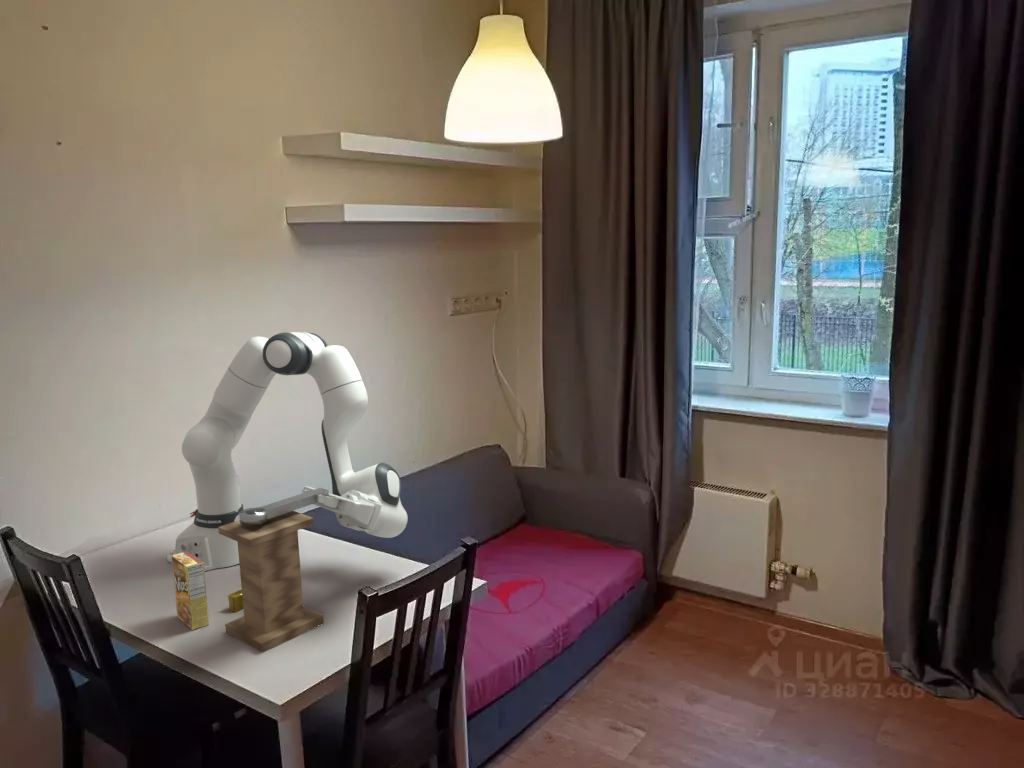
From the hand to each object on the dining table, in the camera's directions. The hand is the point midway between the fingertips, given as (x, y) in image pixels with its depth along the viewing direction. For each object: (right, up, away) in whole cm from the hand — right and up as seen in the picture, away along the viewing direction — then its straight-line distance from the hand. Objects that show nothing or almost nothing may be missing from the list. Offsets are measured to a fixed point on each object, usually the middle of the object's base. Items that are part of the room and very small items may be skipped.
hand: (311, 495), depth 191 cm
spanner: (-5, -3, -5) cm, 7 cm away
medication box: (-16, -27, +10) cm, 33 cm away
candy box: (-27, -29, +1) cm, 40 cm away
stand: (-7, -29, -4) cm, 30 cm away
